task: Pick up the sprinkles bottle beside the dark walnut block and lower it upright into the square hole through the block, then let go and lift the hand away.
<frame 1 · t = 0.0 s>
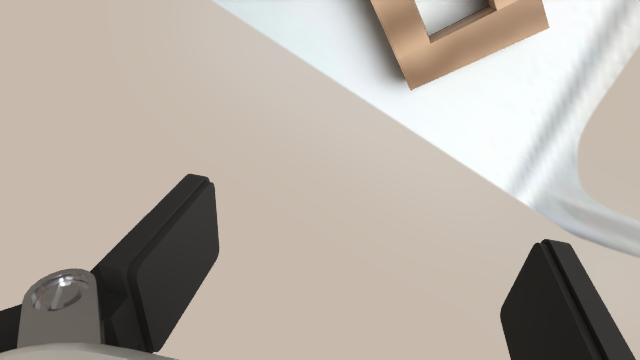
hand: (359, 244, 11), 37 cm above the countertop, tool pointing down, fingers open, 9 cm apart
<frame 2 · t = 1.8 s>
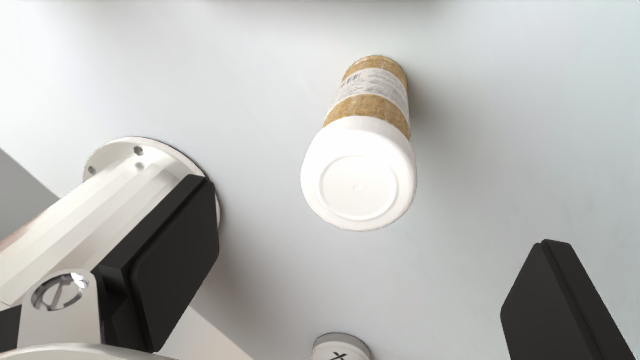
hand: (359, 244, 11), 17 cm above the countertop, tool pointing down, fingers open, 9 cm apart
travel mug: (340, 348, 41), on the countertop
sprinkles bottle: (374, 86, 26), on the countertop
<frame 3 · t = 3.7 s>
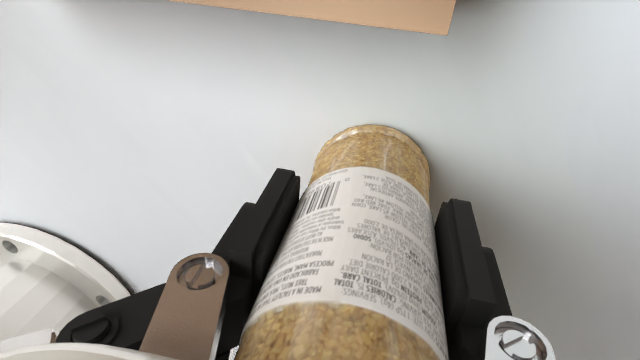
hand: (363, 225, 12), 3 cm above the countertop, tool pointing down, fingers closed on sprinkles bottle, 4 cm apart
sprinkles bottle: (372, 170, 15), on the countertop, touching gripper
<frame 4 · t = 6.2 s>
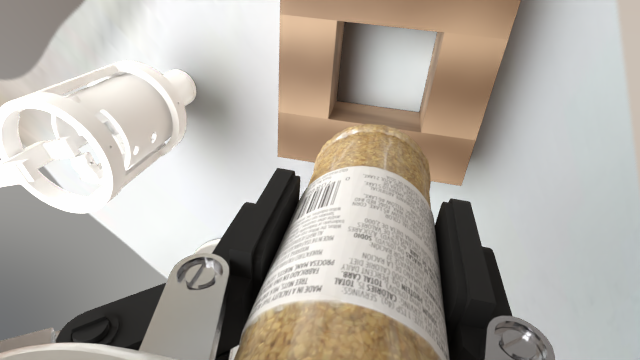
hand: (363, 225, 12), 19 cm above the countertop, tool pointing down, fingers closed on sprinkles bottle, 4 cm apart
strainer: (180, 86, 33), on the countertop
walnut socket block: (384, 64, 28), on the countertop
sprinkles bottle: (372, 170, 15), point 16 cm above the countertop, touching gripper
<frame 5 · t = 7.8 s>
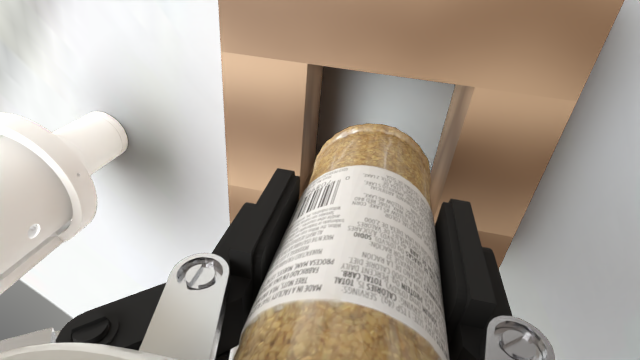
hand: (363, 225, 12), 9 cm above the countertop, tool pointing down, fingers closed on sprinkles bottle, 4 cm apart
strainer: (107, 132, 24), on the countertop
walnut socket block: (380, 116, 20), on the countertop
sprinkles bottle: (372, 170, 15), point 6 cm above the countertop, touching gripper
when the fingers open (5 cm above the countertop, at t = 9.1 s): sprinkles bottle drops 2 cm, resting in walnut socket block.
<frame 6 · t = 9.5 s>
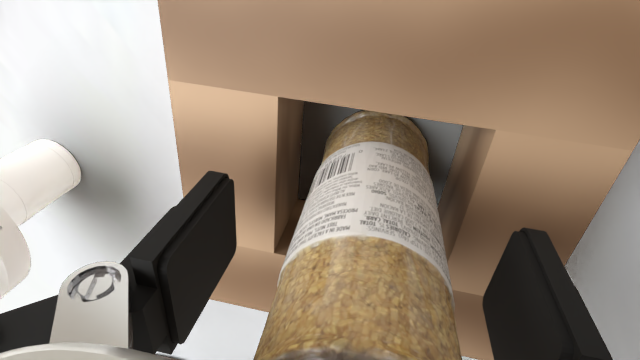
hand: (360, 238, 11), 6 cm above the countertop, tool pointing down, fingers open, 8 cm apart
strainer: (57, 162, 21), on the countertop
walnut socket block: (374, 151, 16), on the countertop
sprinkles bottle: (376, 152, 17), resting in walnut socket block
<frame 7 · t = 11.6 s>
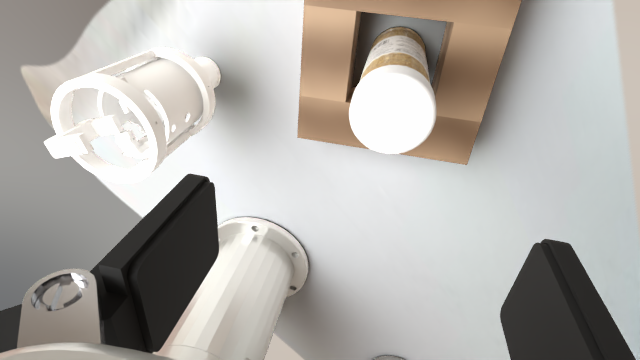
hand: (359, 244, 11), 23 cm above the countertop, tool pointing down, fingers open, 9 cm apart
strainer: (206, 72, 35), on the countertop
walnut socket block: (396, 52, 30), on the countertop
sprinkles bottle: (397, 54, 31), resting in walnut socket block
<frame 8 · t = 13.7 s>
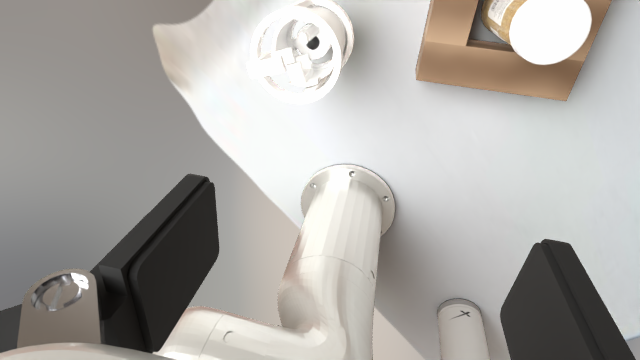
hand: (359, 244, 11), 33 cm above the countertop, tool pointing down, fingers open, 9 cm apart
travel mug: (457, 310, 57), on the countertop
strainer: (327, 28, 40), on the countertop
walnut socket block: (505, 6, 36), on the countertop
sprinkles bottle: (505, 7, 36), resting in walnut socket block
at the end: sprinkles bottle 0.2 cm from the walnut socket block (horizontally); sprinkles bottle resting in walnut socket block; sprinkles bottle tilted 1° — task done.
